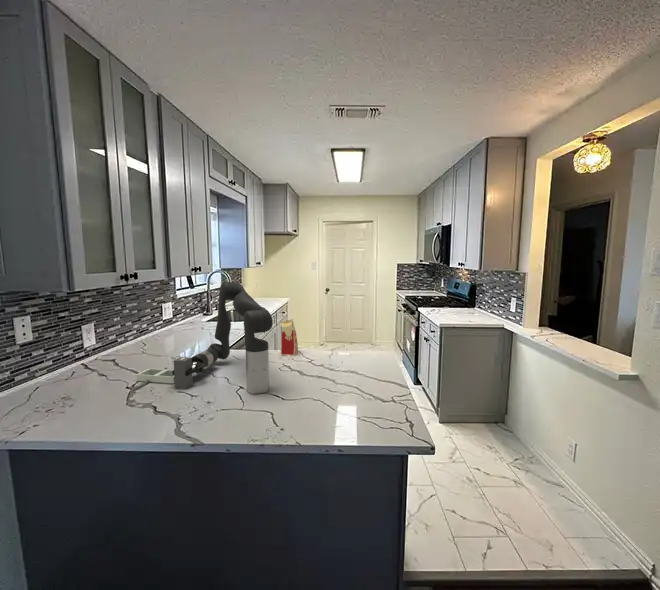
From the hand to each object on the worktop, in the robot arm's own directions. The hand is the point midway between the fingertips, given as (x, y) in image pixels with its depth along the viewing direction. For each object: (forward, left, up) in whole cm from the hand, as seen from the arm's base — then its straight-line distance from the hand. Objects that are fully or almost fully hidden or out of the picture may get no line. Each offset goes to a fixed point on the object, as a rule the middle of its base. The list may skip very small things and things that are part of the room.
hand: (179, 373), depth 140 cm
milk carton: (+34, -54, -7) cm, 65 cm away
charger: (+2, -1, -7) cm, 7 cm away
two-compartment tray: (+10, +11, -7) cm, 16 cm away
